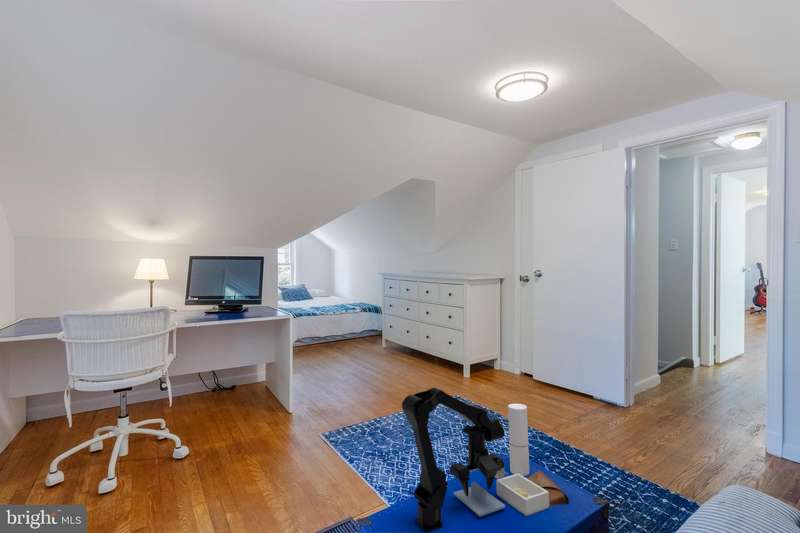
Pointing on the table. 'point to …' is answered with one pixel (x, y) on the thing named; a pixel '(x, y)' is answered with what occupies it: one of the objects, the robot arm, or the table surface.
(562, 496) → the sunglasses case
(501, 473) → the usb wall charger
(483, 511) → the lid
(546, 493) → the tub
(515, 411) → the cylindrical container
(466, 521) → the table surface
